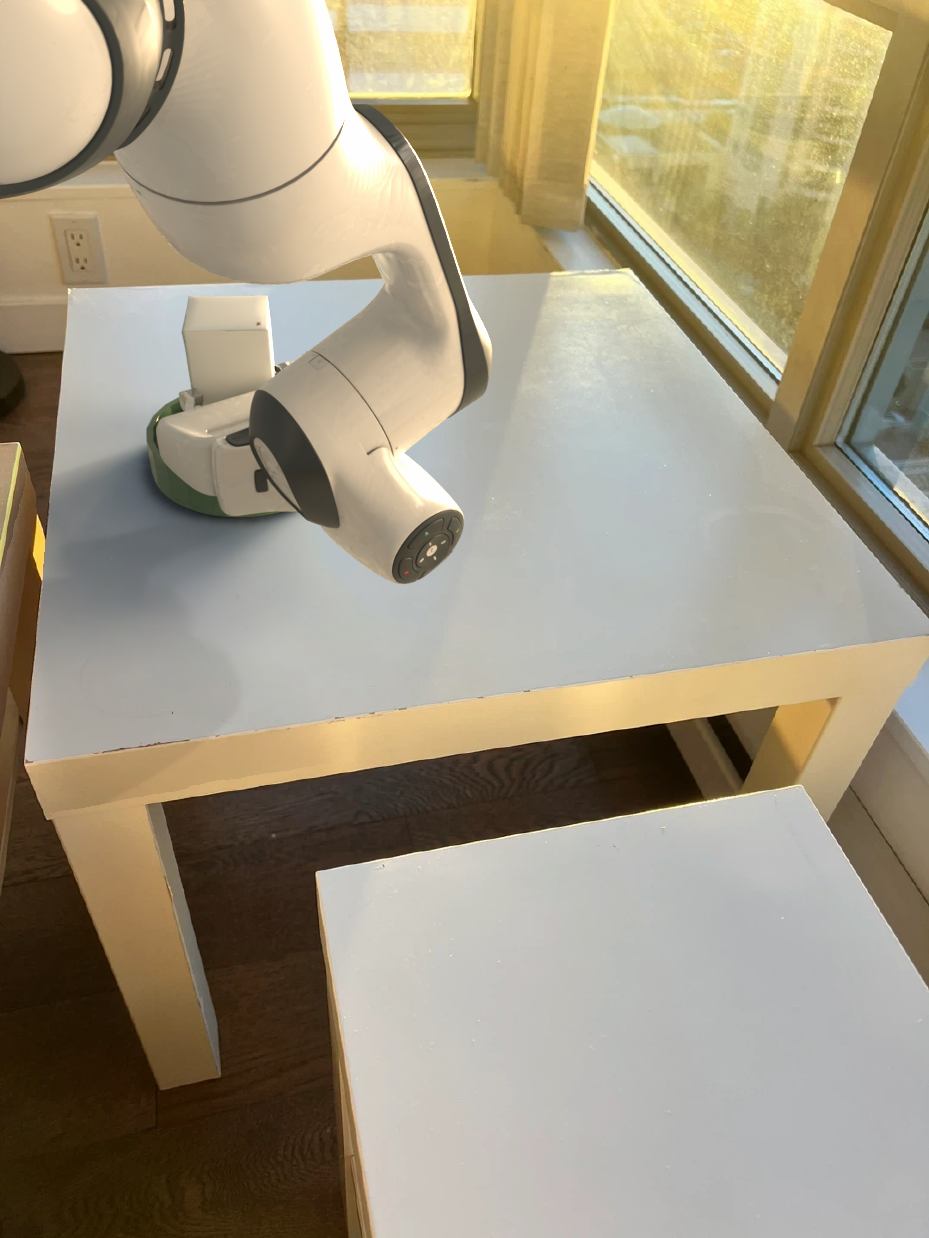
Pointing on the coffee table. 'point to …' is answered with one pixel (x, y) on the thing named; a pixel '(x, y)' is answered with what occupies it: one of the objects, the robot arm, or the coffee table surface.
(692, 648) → the coffee table surface
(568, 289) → the coffee table surface
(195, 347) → the white packaging box
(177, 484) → the bowl
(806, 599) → the coffee table surface
